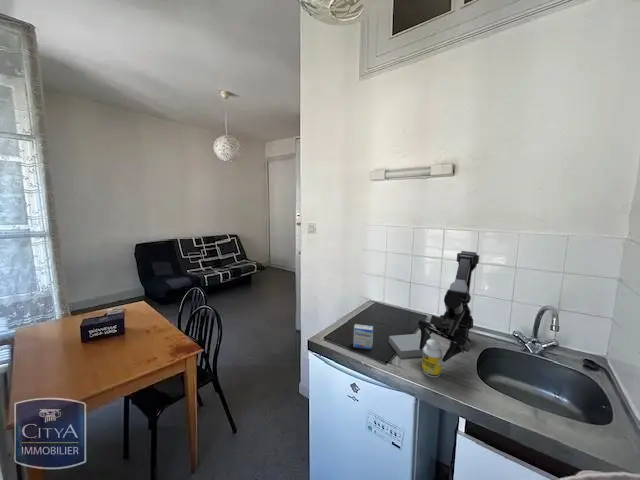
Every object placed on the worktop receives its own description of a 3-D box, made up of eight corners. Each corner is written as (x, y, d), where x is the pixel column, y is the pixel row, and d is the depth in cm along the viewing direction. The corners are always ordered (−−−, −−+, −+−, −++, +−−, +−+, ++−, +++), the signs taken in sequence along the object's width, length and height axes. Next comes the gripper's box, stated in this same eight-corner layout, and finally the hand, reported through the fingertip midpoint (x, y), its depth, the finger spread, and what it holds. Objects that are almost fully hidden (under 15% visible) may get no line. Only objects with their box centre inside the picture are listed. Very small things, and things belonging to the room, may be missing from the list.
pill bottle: (417, 369, 103) (419, 339, 101) (431, 365, 105) (433, 336, 103) (430, 380, 97) (432, 349, 95) (444, 375, 99) (447, 345, 97)
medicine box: (353, 347, 118) (353, 328, 116) (354, 342, 122) (354, 323, 120) (372, 349, 116) (372, 330, 114) (372, 344, 120) (373, 325, 119)
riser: (414, 340, 123) (415, 334, 123) (429, 355, 112) (429, 348, 111) (388, 342, 122) (389, 336, 121) (400, 358, 110) (401, 351, 109)
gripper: (421, 299, 107) (400, 333, 103) (469, 316, 92) (447, 358, 88) (432, 314, 113) (412, 347, 109) (479, 332, 98) (459, 372, 93)
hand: (431, 355), depth 99 cm, fingers open, 9 cm apart
